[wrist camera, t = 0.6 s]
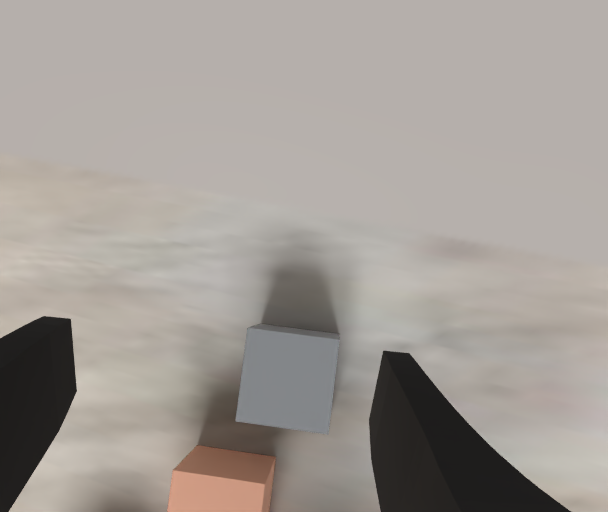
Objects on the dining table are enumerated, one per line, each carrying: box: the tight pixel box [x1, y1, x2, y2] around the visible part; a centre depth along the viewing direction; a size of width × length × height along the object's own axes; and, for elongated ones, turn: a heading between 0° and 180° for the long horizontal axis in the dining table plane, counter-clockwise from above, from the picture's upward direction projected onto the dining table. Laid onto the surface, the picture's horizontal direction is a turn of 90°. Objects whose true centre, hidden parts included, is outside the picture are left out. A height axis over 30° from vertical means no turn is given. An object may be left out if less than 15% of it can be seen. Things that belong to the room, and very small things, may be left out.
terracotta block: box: [167, 445, 276, 512], centre depth 31 cm, size 5×5×5 cm
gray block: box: [236, 324, 340, 434], centre depth 31 cm, size 5×5×5 cm
